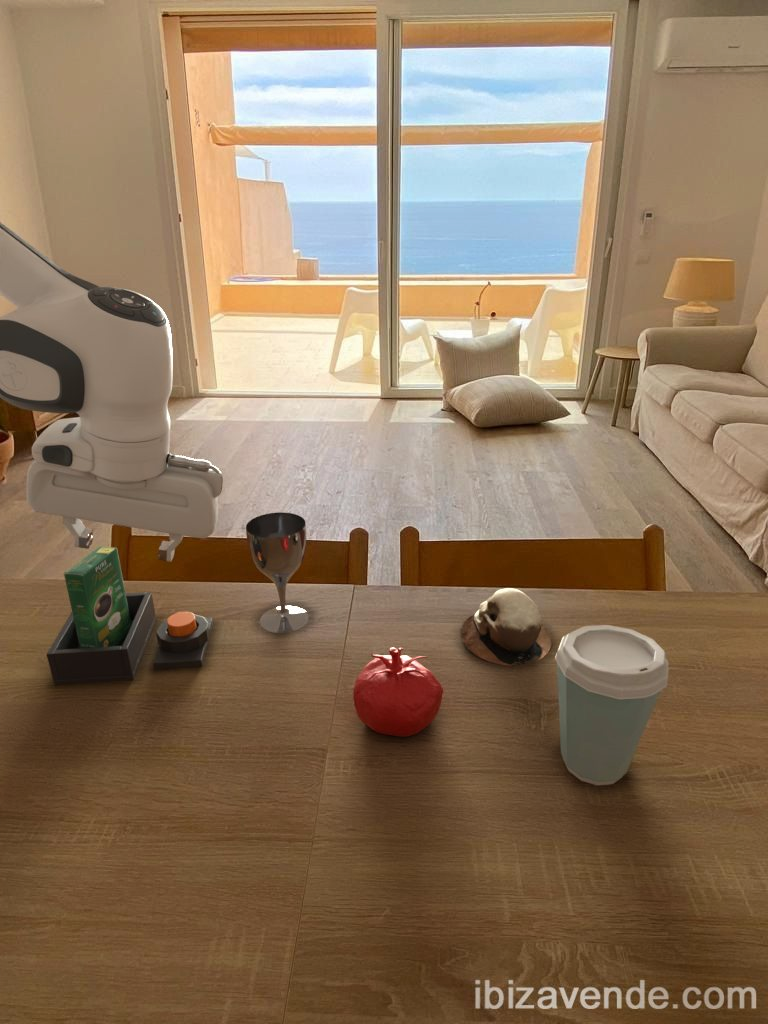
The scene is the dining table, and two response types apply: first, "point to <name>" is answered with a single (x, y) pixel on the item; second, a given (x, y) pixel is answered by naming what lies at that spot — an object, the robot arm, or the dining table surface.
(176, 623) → the button
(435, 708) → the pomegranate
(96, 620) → the coffee box
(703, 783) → the dining table surface
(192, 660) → the panel
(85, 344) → the robot arm
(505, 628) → the skull
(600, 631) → the disposable coffee cup
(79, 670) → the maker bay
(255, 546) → the wine glass
